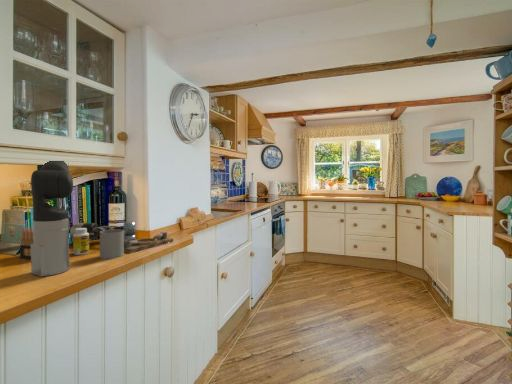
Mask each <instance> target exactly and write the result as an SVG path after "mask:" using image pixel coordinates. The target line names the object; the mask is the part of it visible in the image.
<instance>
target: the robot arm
mask: <svg viewBox="0 0 512 384" xmlns="http://www.w3.org/2000/svg"><path fill="white" fill-rule="evenodd" d="M36 169H37V170H34V171H33V172H32V174H31V175H30V176H31V177H30V187H31V196H32V197H31V198H32V226H33V227H32V229H33V235H34V244H31V259H30V264H31V265H30V267H31V270H30V271H31V275H34V276H38V277H42V278H43V277H45V276H51V275H52V276H53V275H58V274H62V273H65V272H67V271H69V270H70V246H69V245H70V238H69V233H70V234H71V237H72V238H71V239H73V234H75V229H77V228H87V233H89V240H95V239H96V238H98V237H99V238H100V231H103V230H110V229H111V228H112V229H122V230H124V226H118V225H103V226H102V225H101V226H99V225H98V224H97V223H96V222H77V224H74V225H73V226H72V227H71V228H70V230H69V211H68V210H67V209H65V208H60V207H59V208H57V207H54V206H51V205H49V204H48V203H46V202H45V199H57V198H58V199H65V198H68V197H70V196H71V195H72V194H73V191H74V180H73V177H72V174H71V173H70V171H69V165H68V166H67V164H66V163H65V162H64V161H49V162H47V163H45V164H44V165H37V164H36Z"/></svg>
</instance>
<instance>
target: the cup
mask: <svg viewBox="0 0 512 384" xmlns="http://www.w3.org/2000/svg"><path fill="white" fill-rule="evenodd" d="M123 256H125V252H124V230H122V229H114V228H112V229H110V230H103V231H100V237H99V258H100V259H103V260H112V259H118V258H121V257H123Z"/></svg>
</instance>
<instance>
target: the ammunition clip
mask: <svg viewBox="0 0 512 384" xmlns="http://www.w3.org/2000/svg"><path fill="white" fill-rule="evenodd" d="M20 238H21V239H20V240H21V244H20V247H19V248H20V249H19V252H20V254H19V255H20V259H22V260H23V259H24V260H31V244H34V235H33V227H31V226H30V228H29V227H26V228H25V226H22V229H21V237H20Z"/></svg>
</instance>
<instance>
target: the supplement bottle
mask: <svg viewBox="0 0 512 384" xmlns="http://www.w3.org/2000/svg"><path fill="white" fill-rule="evenodd" d="M89 252H90V239H89V233H87V228H77V229H75V234H73V238H72V253H73V255H75V256H79V255H80V256H81V255H86V254H88V253H89Z"/></svg>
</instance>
